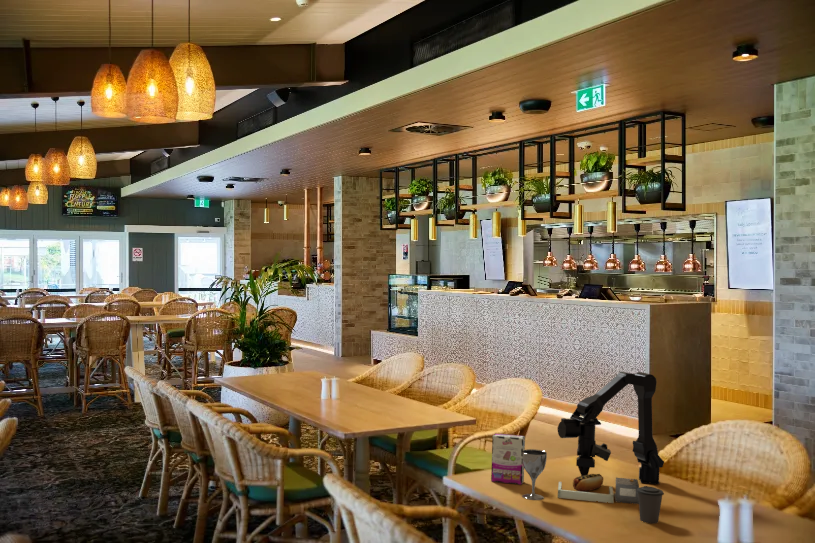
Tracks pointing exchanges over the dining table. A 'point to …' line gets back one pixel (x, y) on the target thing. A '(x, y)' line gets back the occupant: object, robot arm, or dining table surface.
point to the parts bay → (586, 495)
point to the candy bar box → (507, 459)
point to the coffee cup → (649, 503)
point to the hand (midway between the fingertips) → (584, 481)
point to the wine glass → (534, 468)
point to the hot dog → (587, 482)
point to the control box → (626, 490)
